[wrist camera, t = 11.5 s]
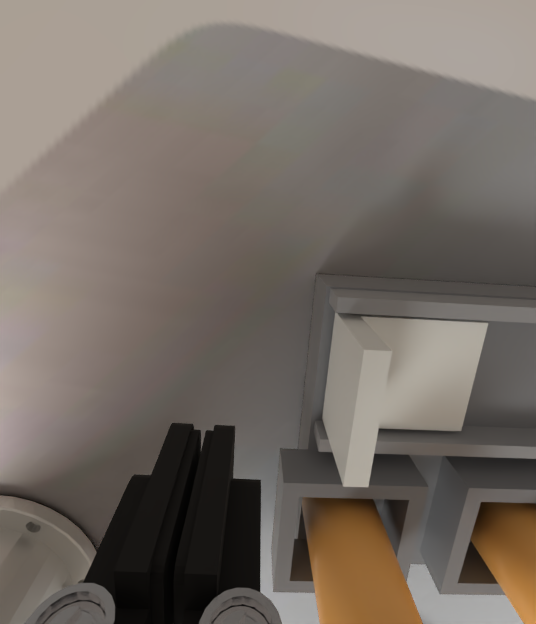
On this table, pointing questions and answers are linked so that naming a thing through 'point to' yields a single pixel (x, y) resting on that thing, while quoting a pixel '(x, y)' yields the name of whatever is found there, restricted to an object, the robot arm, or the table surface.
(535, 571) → the peg
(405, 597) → the housing
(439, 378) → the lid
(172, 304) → the table surface
